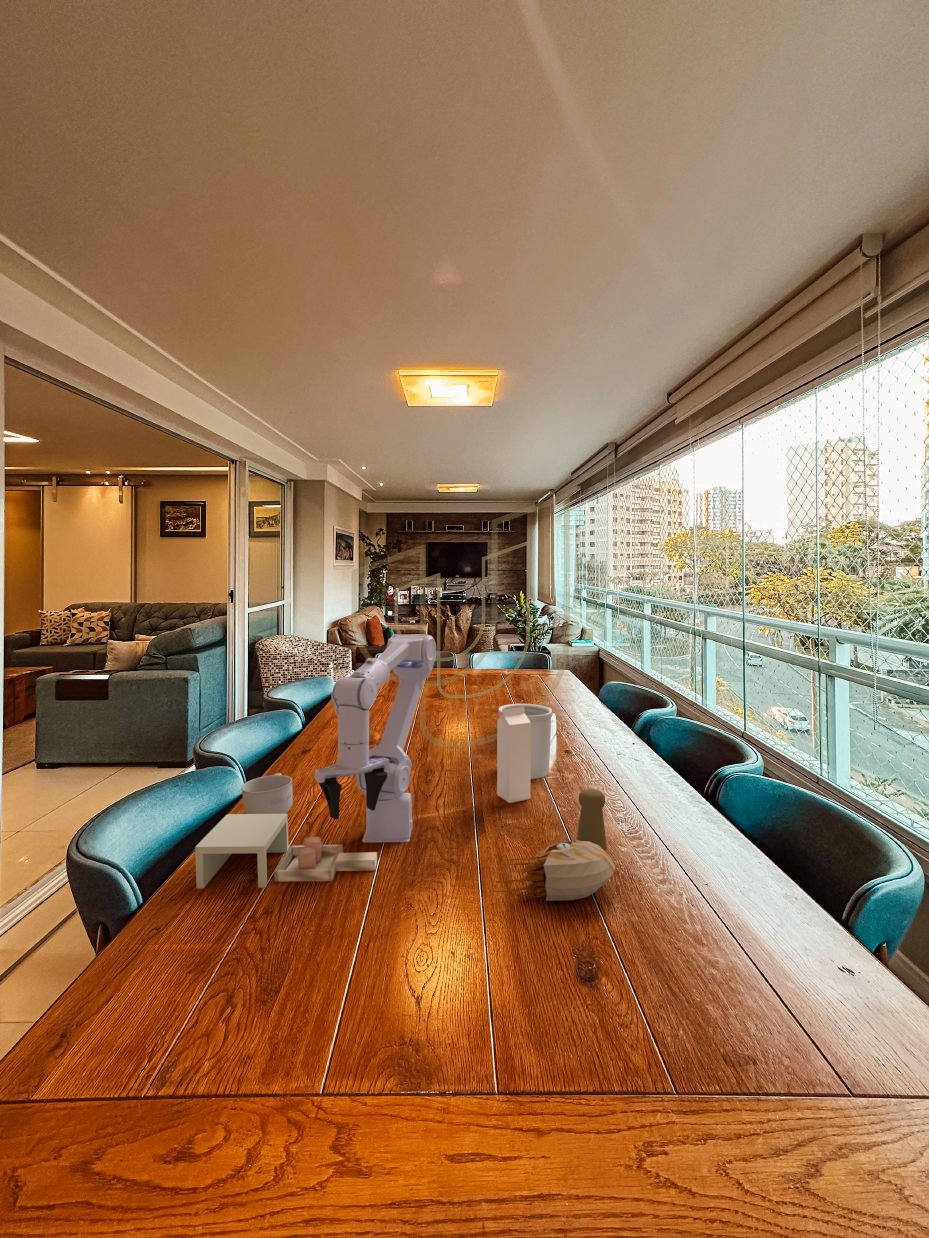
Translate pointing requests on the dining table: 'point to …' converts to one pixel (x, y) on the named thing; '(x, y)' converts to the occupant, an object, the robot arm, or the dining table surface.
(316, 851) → the tan rounded capsule
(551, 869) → the nautilus
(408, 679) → the robot arm
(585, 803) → the pepper mill
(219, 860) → the grey bridge stand
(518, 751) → the milk
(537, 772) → the utensil holder
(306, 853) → the tan rounded block
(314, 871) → the drawer with block handle
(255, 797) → the teacup
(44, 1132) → the dining table surface
